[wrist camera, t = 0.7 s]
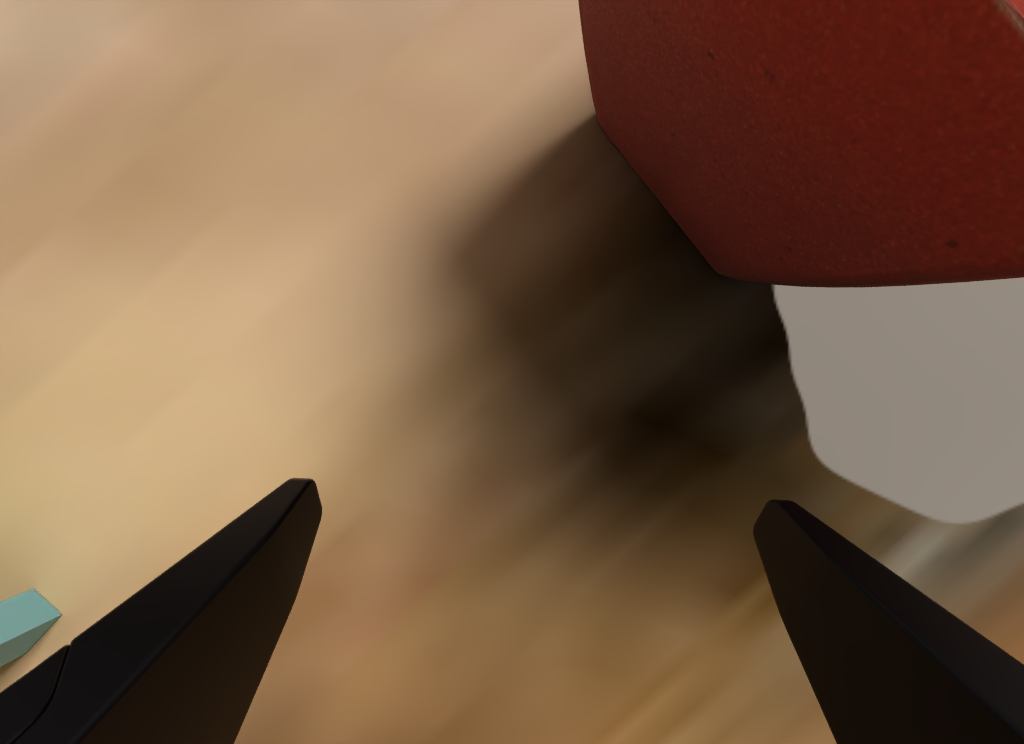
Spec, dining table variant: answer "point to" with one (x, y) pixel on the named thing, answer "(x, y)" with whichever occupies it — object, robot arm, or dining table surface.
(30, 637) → the teal notched plate
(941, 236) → the plant pot
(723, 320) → the dining table surface
